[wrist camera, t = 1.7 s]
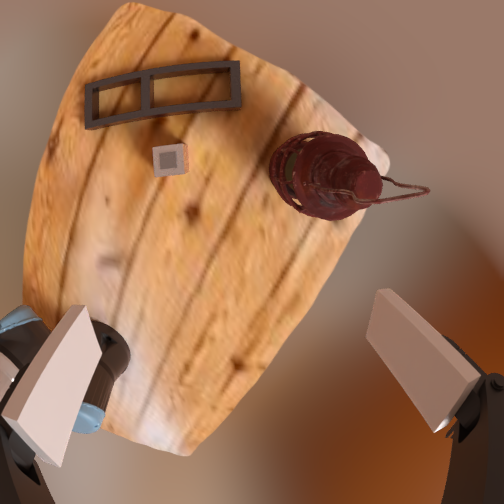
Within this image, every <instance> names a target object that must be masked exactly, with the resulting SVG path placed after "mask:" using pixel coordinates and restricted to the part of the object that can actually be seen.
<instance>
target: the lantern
mask: <svg viewBox="0 0 504 504" xmlns="http://www.w3.org/2000/svg"><path fill="white" fill-rule="evenodd" d="M306 138H314V139H312V140H311V141H309V142H305V141H303V140H305V139H306ZM269 173H270V178H271V181H272V183H273V185H274V186H275V188H276V190H277V192H278V194H279V195H280V196H281V198H282V199H283V200H284V201H285V202H286V203H287V204H289V205H290V206H293V207H294V208H295V209H296V210H297V211H299V212H300V213H303V214H306V215H308V216H311V217H318V218H320V219H324V220H329V221H333V220H341V219H344V218H346V217H349V216H351V215H352V214H354V213H355V212H356V211H358V210H359V209H364V208H368V207H369V206H371V205H372V204H381V203H387V202H393V201H398V200H404V199H411V198H417V197H421V196H424V195H428V193H429V192H430V189H429V188H428V187H423V186H416V185H408V184H400V183H397V182H395V181H394V180H393V179H391V178H389V177H384V176H380V174H379V172H378V170H377V168H376V166H375V165H374V164H372V163H371V162H370V161H369V160H368V158H367V156H366V154H365V152H364V151H363V150H362V148H361V147H360V146H359V145H358V144H357V143H356V142H354V141H352V140H351V139H349V138H347V137H344V136H342V135H339V134H332V133H329V132H323V131H314V132H311V133H305V134H300V135H297V136H295V137H292V138H291V139H289V140H287V141H286V142H285V143H284V144H283V145H281V146H280V147H279V148H278V149H277V150H276V151H275V152H274V153H273V155H272V157H271V161H270V166H269ZM381 179H383V180H387V181H390V182H393V184H394V185H395V186H398V187H401V188H408V189H416V190H423V192H418V193H413V194H407V195H401V196H396V197H390V198H385V199H378V198H379V196H380V195H381V192H382V186H383V183H382V180H381ZM292 198H294V199H298V201H299V202H300V203H301V204H302V206H301V205H298V204H297V203H295V202H294V201H293V200H292Z"/></svg>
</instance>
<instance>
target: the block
mask: <svg viewBox="0 0 504 504" xmlns="http://www.w3.org/2000/svg"><path fill="white" fill-rule="evenodd" d="M152 148H153V162H154V175H155V177H162V176H170V175H179V174H186V173H187V172H189V160H188V145H186V144H183V143H182V144H173V145H165V146H158V147H152Z"/></svg>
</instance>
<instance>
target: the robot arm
mask: <svg viewBox="0 0 504 504" xmlns="http://www.w3.org/2000/svg"><path fill="white" fill-rule="evenodd" d="M366 338H367V340H368V341H369V342H370V344H371V345H372V346H373V348H374V349H375V350H376V352H377V353H378V354H379V356H380V357H381V358H382V360H383V361H384V363H385V364H386V365H387V367H388V368H389V369H390V371H391V372H392V374H393V375H394V376H395V378H396V379H397V380H398V382H399V383H400V385H401V386H402V387H403V389H404V390H405V392H406V393H407V394H408V396H409V397H410V399H411V400H412V402H413V403H414V404H415V406H416V407H417V409H418V410H419V412H420V413H421V415H422V416H423V418H424V419H425V420H426V422H427V423H428V425H429V426H430V428H431V429H432V431H433V432H436V431H438V430H440V429H441V428H443V427H445V426H447V425H448V423H449V422H450V421H451V420H452V418H453V417H454V416H455V417H456V418H457V419H458V420H457V421H456V422H455V424H454V425H453V426H452V427H451V429H450V430H449V431H448V432H447V434H446V438H447V437H448V436H449V435H450V434H451V433H452V432H453V431H454V434H453V435H452V436H451V438H453V443H452V451H451V458H450V465H449V470H448V476H447V481H446V485H445V490H444V495H443V498H442V503H441V504H504V377H503V376H502V375H500V374H498V373H491V374H489V375H487V374H486V373H485V372H484V371H483V370H482V369H481V368H480V367H479V366H478V365H477V364H476V363H475V362H474V361H473V360H472V359H471V358H470V357H469V356H468V355H467V354H466V355H465V352H464V351H463V350H462V349H460V348H459V346H458V345H457V344H456V343H455V342H454V341H452V340H451V339H449V338H448V337H446V336H444V335H441V334H440V333H438V332H437V331H436V330H435V329H434V328H433V327H432V326H431V325H430V324H429V323H428V322H427V321H426V320H425V319H424V318H422V317H421V316H420V315H419V314H418V313H417V312H416V311H415V310H414V309H413V308H412V307H410V306H409V305H408V304H407V303H406V302H405V301H404V300H403V299H401V298H400V297H399V296H398V295H397V294H396V293H395V292H394V291H392V290H391V289H390V288H386V289H379V290H377V292H376V296H375V301H374V305H373V309H372V314H371V318H370V322H369V326H368V330H367V333H366ZM129 361H130V350H129V347H128V345H127V343H126V341H125V340H124V339H123V337H122V336H121V335H120V334H119V333H118V332H116V331H115V330H114V329H112V328H111V327H109V326H107V325H105V324H103V323H100V322H95V321H91V320H90V317H89V314H88V311H87V307H86V305H72V306H71V307H70V308H69V310H68V311H67V312H66V314H65V315H64V316H63V318H62V319H61V320H60V322H59V323H58V324H57V326H56V327H55V328H54V330H53V331H52V332H51V331H50V330H49V329H48V327H47V326H46V325H45V324H44V323H43V320H42V319H41V318H40V317H38V315H37V314H36V313H35V312H34V311H33V309H32V308H31V307H30V306H28V305H21V306H19V307H17V308H16V309H15V310H13V311H12V312H10V313H9V314H7V315H6V316H5V317H4V318H2V319H1V320H0V504H55V502H54V500H53V498H52V496H51V494H50V492H49V489H48V487H47V485H46V483H45V480H44V478H43V476H42V473H41V471H40V468H39V466H38V464H37V462H36V461H35V460H34V457H35V454H37V455H38V456H39V457H40V458H41V459H42V460H43V461H44V462H46V463H48V464H51V465H54V466H57V467H61V464H62V461H63V457H64V454H65V450H66V447H67V444H68V441H69V438H70V435H71V432H72V431H74V432H77V433H84V434H85V433H86V434H89V433H93V432H96V431H97V430H98V429H99V428H100V426H101V423H102V421H103V418H104V417H105V412H106V408H107V405H108V401H109V398H110V394H111V391H112V388H113V385H114V382H115V381H116V379H117V378H118V377H119V376H120V375H121V374H122V373H123V372H124V371H125V370H126V369H127V367H128V364H129Z"/></svg>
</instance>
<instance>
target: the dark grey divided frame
mask: <svg viewBox="0 0 504 504" xmlns="http://www.w3.org/2000/svg"><path fill="white" fill-rule="evenodd" d="M223 72H229V75H230V100H229V101H212V102H199V103H189V104H180V105H172V106H164V107H158V108H154V80H156V79H162V78H169V77H177V76H185V75H195V74H207V73H223ZM139 82H141V110H139V111H134V112H129V113H124V114H119V115H114V116H110V117H106V118H101V119H99V92H100V91H104V90H107V89H111V88H116V87H120V86H124V85H129V84H134V83H139ZM240 109H241V84H240V61H214V62H200V63H190V64H181V65H173V66H166V67H159V68H153V69H148V70H142V71H137V72H132V73H128V74H123V75H119V76H115V77H111V78H107V79H103V80H99V81H96V82H92V83H89V84H86V85H85V129H86V130H96V129H100V128H104V127H109V126H113V125H118V124H123V123H128V122H133V121H139V120H145V119H151V118H157V117H164V116H172V115H180V114H189V113H200V112H212V111H228V110H240Z"/></svg>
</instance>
